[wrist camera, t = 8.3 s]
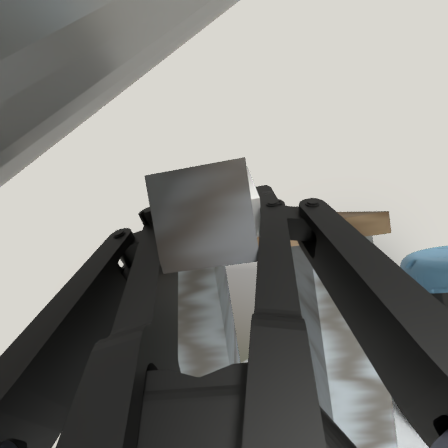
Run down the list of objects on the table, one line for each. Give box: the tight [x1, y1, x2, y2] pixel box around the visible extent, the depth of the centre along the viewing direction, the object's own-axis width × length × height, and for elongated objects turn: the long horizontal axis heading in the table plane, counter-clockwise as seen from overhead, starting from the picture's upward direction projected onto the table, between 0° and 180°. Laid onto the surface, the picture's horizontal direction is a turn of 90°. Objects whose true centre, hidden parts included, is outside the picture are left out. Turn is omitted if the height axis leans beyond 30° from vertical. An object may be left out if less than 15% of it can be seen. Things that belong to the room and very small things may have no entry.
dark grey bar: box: [145, 157, 258, 274], centre depth 22 cm, size 4×30×4 cm, turn 175°
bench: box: [178, 211, 398, 448], centre depth 25 cm, size 24×12×30 cm, turn 85°
